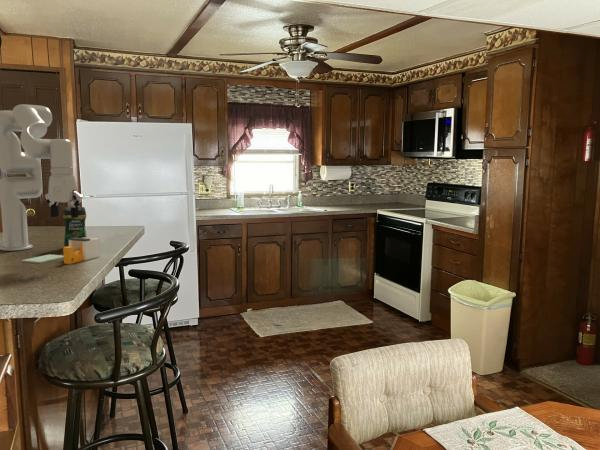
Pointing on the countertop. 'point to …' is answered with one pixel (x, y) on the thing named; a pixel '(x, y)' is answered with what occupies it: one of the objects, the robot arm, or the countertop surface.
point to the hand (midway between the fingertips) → (64, 217)
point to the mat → (43, 258)
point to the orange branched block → (72, 255)
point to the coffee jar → (74, 225)
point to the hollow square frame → (86, 246)
